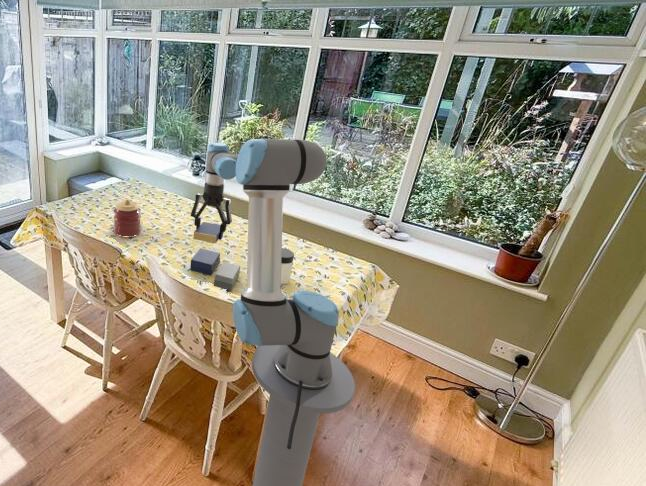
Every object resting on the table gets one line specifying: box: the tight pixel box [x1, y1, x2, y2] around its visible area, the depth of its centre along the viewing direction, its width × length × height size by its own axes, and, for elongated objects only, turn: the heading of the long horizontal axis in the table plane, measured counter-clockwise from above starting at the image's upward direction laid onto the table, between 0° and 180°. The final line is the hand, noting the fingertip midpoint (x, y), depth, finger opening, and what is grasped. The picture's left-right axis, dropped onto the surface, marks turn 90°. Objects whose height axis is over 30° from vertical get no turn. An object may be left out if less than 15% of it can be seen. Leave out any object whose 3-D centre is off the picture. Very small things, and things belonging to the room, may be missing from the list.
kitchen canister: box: [113, 198, 142, 236], centre depth 197 cm, size 13×13×18 cm
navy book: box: [193, 221, 225, 244], centre depth 165 cm, size 12×9×3 cm
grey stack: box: [212, 261, 241, 292], centre depth 160 cm, size 12×7×5 cm, turn 153°
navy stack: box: [189, 247, 221, 277], centre depth 171 cm, size 12×9×5 cm
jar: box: [281, 247, 295, 285], centre depth 162 cm, size 9×8×12 cm
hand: (209, 235), depth 166 cm, fingers closed on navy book, 9 cm apart
